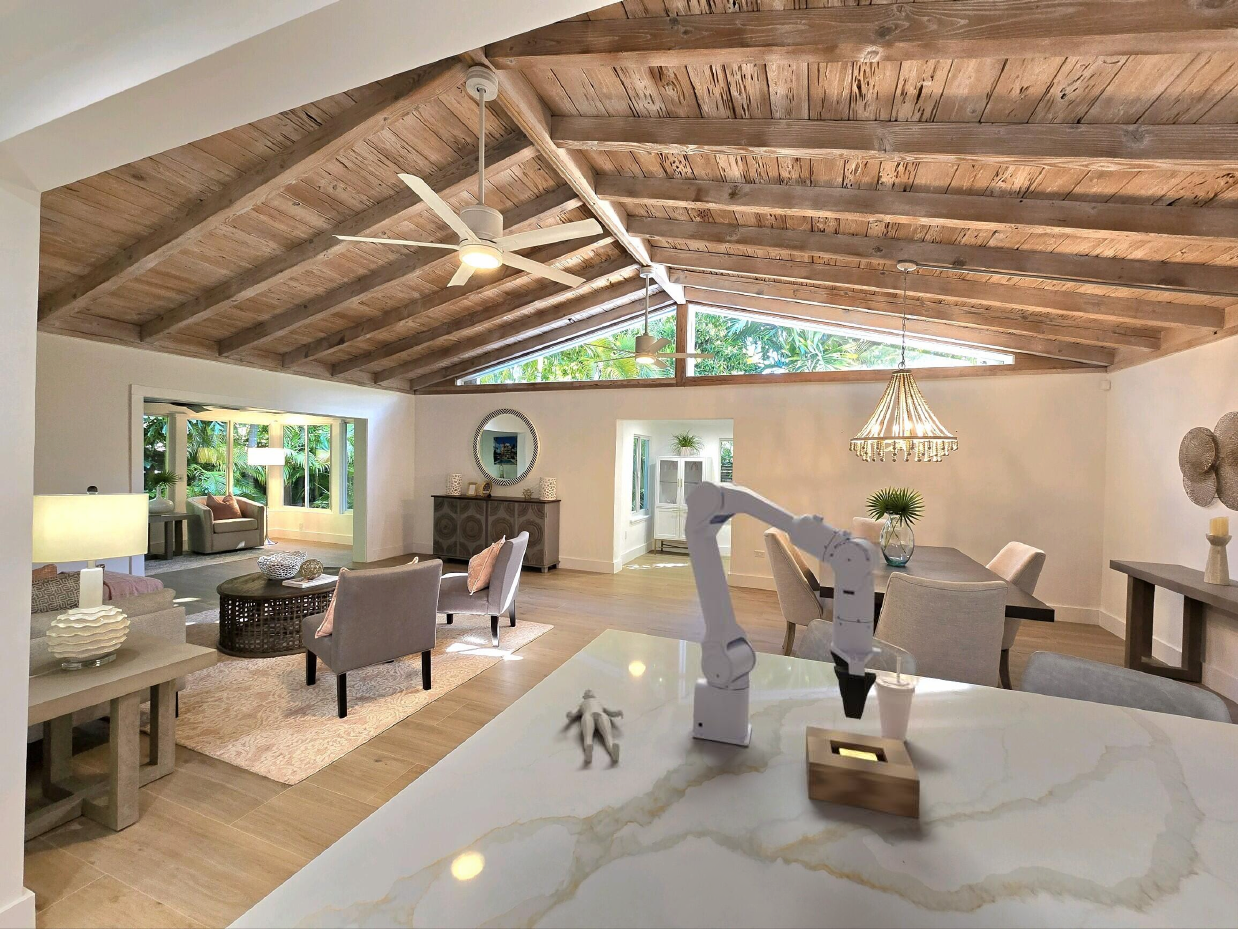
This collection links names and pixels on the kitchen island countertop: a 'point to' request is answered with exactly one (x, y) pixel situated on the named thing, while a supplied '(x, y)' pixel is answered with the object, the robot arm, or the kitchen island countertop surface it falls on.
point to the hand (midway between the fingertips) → (850, 707)
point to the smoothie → (894, 704)
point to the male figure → (596, 723)
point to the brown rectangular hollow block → (861, 772)
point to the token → (857, 754)
